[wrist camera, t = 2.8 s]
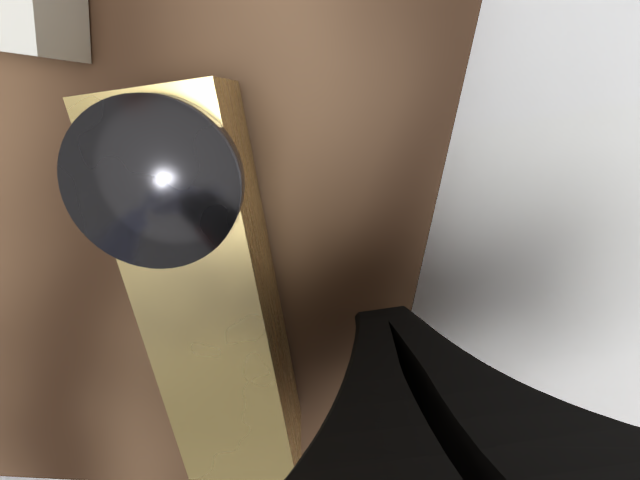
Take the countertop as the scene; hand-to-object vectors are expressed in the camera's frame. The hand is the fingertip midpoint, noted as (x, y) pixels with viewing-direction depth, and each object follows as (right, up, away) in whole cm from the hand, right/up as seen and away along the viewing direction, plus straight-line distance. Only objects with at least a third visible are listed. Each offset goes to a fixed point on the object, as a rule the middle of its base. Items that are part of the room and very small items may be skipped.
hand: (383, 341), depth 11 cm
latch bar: (-4, +2, 0) cm, 4 cm away
